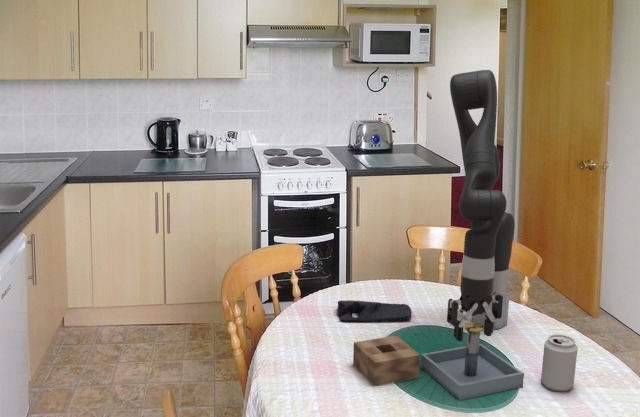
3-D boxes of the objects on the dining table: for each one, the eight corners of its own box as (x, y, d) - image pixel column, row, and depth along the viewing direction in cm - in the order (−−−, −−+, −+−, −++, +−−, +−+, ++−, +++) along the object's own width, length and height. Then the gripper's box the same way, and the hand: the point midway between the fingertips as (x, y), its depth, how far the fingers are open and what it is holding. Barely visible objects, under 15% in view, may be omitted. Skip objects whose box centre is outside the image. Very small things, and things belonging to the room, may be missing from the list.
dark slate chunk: (412, 327, 207) (413, 311, 206) (335, 323, 209) (335, 308, 207) (410, 307, 222) (411, 292, 220) (338, 304, 223) (338, 289, 222)
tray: (480, 356, 188) (481, 343, 187) (522, 386, 173) (524, 373, 172) (420, 367, 182) (421, 354, 181) (459, 400, 166) (460, 386, 165)
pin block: (395, 357, 187) (396, 335, 186) (418, 377, 176) (420, 354, 175) (353, 364, 183) (353, 342, 181) (374, 386, 172) (375, 362, 170)
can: (535, 378, 177) (540, 332, 174) (565, 377, 178) (570, 331, 175) (547, 393, 170) (552, 346, 167) (578, 392, 170) (584, 345, 167)
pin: (472, 368, 180) (476, 320, 177) (483, 376, 176) (487, 327, 173) (457, 371, 178) (461, 323, 175) (467, 379, 174) (471, 330, 171)
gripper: (493, 264, 177) (489, 327, 181) (442, 271, 171) (439, 336, 175) (512, 274, 170) (507, 339, 174) (460, 281, 165) (456, 348, 169)
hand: (473, 337), depth 175 cm, fingers open, 7 cm apart
